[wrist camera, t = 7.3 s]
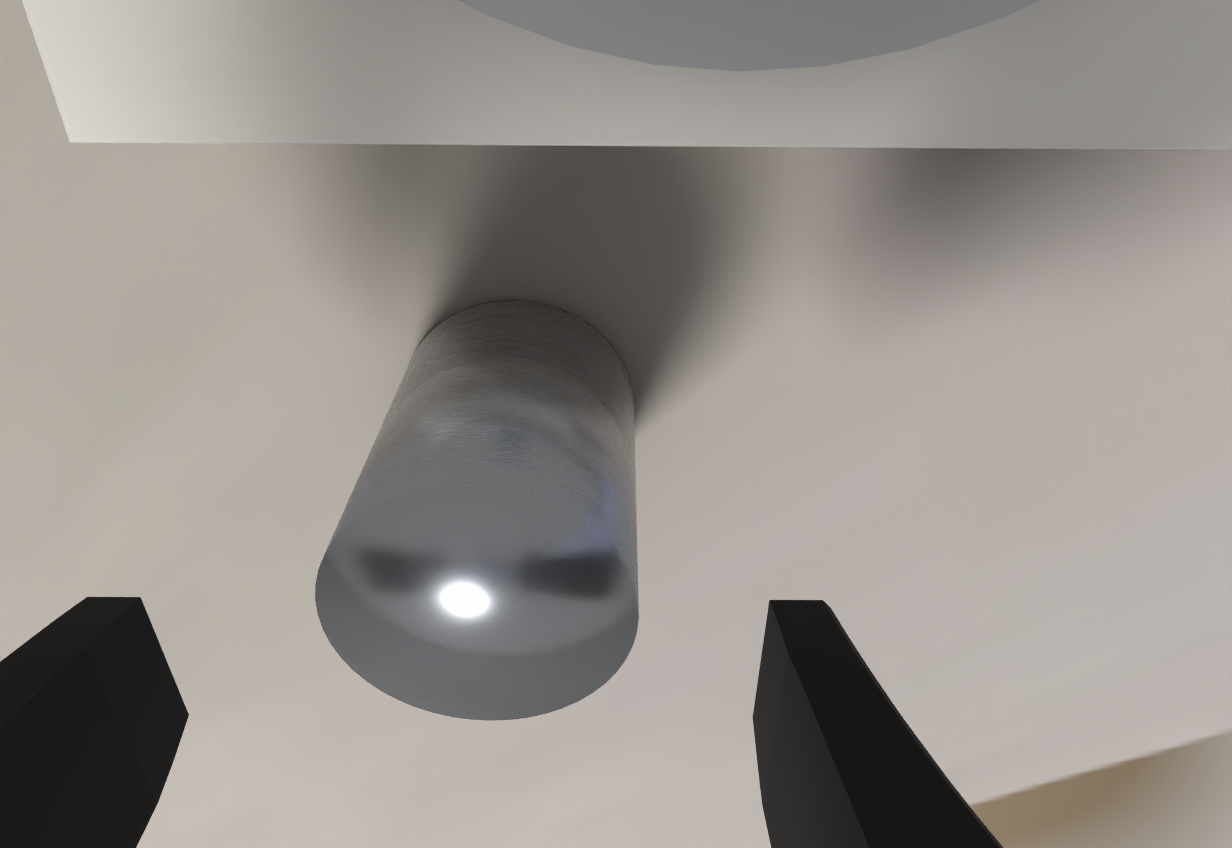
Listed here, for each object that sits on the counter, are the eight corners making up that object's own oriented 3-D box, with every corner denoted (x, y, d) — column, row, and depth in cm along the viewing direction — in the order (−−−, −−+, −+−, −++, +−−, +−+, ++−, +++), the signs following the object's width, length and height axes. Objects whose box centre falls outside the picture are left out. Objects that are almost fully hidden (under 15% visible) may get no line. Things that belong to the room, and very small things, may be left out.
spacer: (635, 302, 14) (641, 489, 9) (631, 498, 16) (635, 721, 12) (388, 299, 14) (284, 486, 9) (419, 496, 16) (345, 718, 12)
